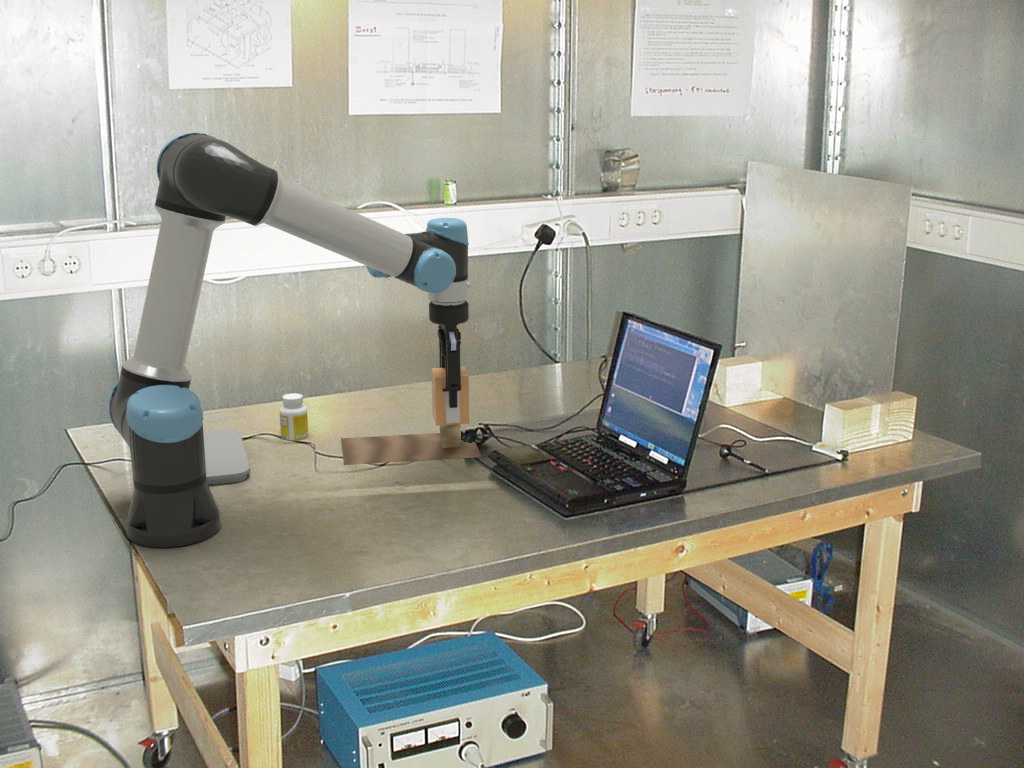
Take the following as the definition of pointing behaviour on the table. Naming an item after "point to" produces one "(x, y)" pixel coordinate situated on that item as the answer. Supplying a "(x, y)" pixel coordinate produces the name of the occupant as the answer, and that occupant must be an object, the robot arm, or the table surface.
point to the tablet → (225, 456)
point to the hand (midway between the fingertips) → (450, 416)
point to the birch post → (450, 436)
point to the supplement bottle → (293, 418)
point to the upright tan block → (439, 396)
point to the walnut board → (402, 449)
